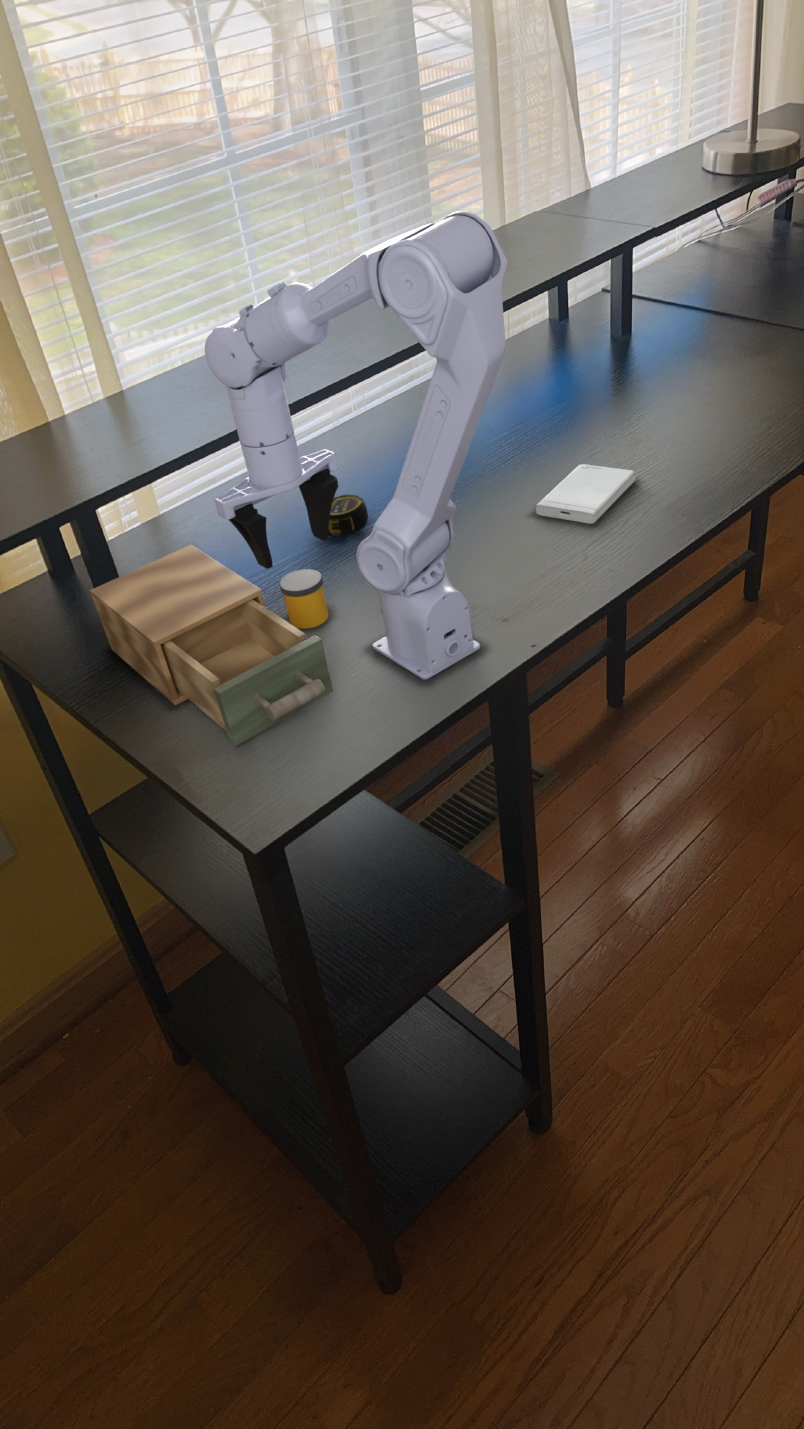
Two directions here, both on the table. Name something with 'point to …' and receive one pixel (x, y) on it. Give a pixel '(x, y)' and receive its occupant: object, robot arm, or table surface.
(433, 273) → the robot arm
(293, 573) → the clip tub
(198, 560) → the cabinet
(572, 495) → the hard drive
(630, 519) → the table surface
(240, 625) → the drawer
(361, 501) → the tape measure
